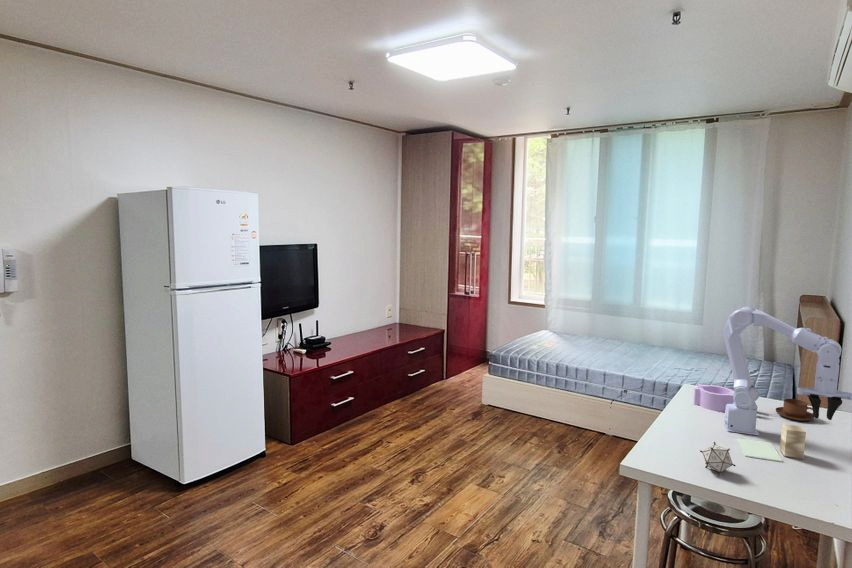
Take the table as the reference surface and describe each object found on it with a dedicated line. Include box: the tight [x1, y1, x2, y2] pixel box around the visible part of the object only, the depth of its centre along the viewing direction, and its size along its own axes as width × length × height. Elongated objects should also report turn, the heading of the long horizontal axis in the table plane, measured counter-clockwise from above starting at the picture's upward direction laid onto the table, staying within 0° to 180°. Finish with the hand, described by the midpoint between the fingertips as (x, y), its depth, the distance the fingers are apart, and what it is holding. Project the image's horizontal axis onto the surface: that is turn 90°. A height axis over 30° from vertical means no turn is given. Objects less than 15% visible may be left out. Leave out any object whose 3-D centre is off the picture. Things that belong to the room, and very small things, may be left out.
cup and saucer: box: [775, 398, 815, 422], centre depth 190 cm, size 12×12×6 cm
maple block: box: [779, 423, 807, 461], centre depth 158 cm, size 5×5×9 cm
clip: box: [692, 383, 734, 413], centre depth 200 cm, size 20×12×7 cm, turn 50°
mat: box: [735, 437, 784, 463], centre depth 162 cm, size 10×14×1 cm
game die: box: [699, 441, 737, 476], centre depth 148 cm, size 9×8×10 cm
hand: (822, 418), depth 162 cm, fingers open, 3 cm apart
